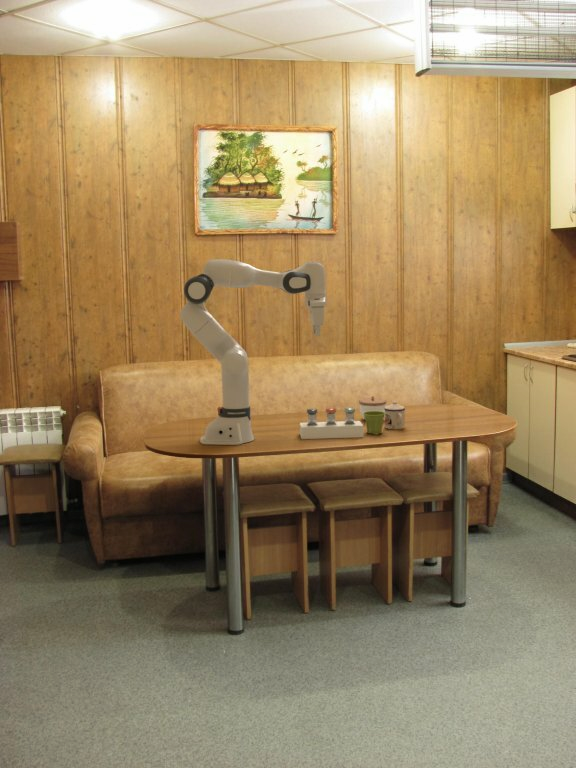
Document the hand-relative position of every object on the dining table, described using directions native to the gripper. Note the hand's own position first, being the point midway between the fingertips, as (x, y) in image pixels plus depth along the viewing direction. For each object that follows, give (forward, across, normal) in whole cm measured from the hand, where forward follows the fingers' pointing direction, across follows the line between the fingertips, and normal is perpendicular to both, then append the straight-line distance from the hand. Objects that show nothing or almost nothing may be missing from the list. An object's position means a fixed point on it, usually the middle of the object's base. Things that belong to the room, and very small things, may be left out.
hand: (316, 334), depth 333 cm
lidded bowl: (+44, -34, +28) cm, 62 cm away
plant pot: (+44, -6, +24) cm, 50 cm away
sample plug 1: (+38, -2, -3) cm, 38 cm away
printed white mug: (+44, -14, +35) cm, 58 cm away
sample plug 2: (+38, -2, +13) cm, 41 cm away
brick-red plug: (+38, -2, +5) cm, 39 cm away
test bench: (+44, -2, +5) cm, 44 cm away
